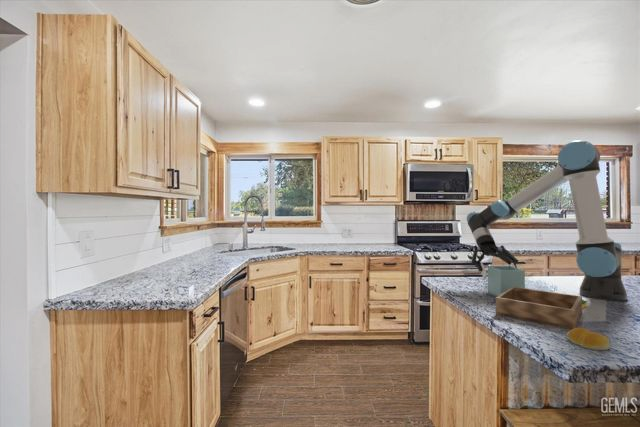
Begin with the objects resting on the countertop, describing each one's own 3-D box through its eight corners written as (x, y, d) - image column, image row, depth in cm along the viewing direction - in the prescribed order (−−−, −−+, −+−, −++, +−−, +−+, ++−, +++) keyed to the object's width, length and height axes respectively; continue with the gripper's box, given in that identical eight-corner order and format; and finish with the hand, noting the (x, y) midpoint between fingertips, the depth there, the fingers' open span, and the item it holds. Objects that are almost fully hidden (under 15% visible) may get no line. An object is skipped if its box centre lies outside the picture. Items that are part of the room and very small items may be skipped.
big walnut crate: (582, 313, 115) (582, 296, 115) (574, 330, 99) (574, 310, 99) (512, 301, 130) (512, 286, 130) (495, 314, 114) (495, 297, 114)
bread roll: (598, 353, 83) (598, 338, 83) (562, 340, 92) (562, 326, 92) (618, 348, 86) (618, 333, 86) (581, 336, 95) (581, 322, 95)
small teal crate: (510, 292, 143) (510, 265, 143) (524, 299, 133) (524, 270, 133) (487, 293, 143) (487, 266, 143) (500, 299, 133) (500, 270, 133)
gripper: (506, 243, 157) (526, 281, 142) (455, 244, 157) (469, 281, 142) (513, 233, 152) (534, 271, 137) (460, 234, 152) (475, 272, 137)
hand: (501, 277), depth 140 cm, fingers open, 13 cm apart
